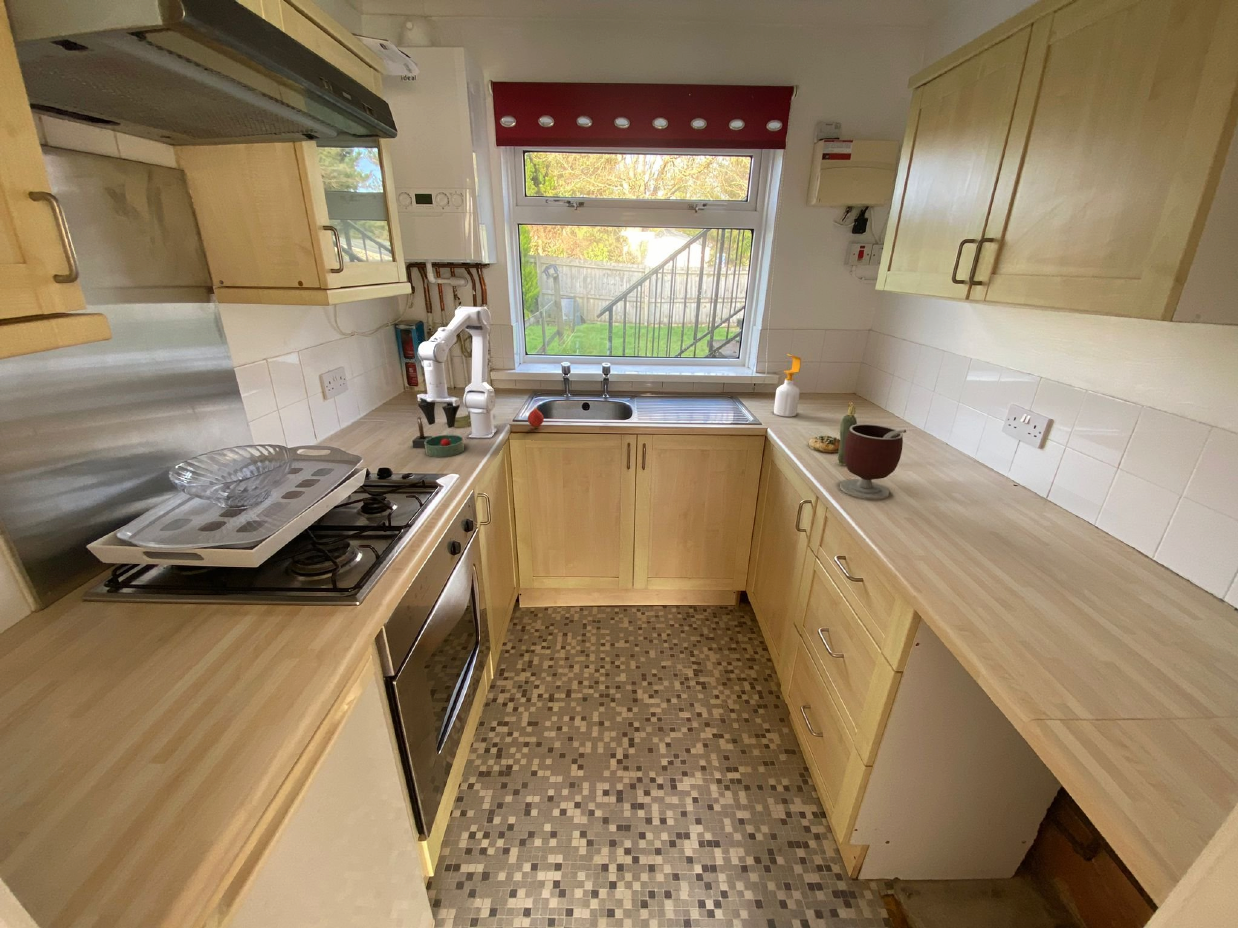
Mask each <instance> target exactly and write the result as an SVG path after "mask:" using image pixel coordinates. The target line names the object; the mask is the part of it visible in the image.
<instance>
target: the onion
mask: <svg viewBox="0 0 1238 928" xmlns="http://www.w3.org/2000/svg"><path fill="white" fill-rule="evenodd" d="M544 419H545V418H544V415H543V413H542V412H541V411H540V410H538V408H537V407H534V408H533V409H532V410H531V411H530V412H529V414H528V416H527V422H528V424H529V425H530V426H531V427H532V428H534V429H539V427H541V426H542V424H543V423H544Z"/></svg>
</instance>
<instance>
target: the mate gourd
mask: <svg viewBox="0 0 1238 928" xmlns="http://www.w3.org/2000/svg"><path fill="white" fill-rule="evenodd" d="M906 433H907V430H906V429H896V428H892V427H890V426H885V425H882V424H881V425H880V424H874V423H873V424H872V423H857V425H853V426H851V427H850V430H849V432H848V434H847V437H846V440H845V444H844V451H843V457H844V463H845V464H844V466H845V467H846V469H847V471H849V473H850V474H853V475H854V476H857V477H858V478H859V479H858V478H857V479H856V478H850V479H844V480H842V481H841V482H840V484H839V488H840V490H841V491H842V492H844V493H845V494H847V495H849V496H852V497H855V498H859V499H862V500H863V499H864V500H873V501H874V500H875V501H877V500H878V501H879V500H884V499H886V498H888V497H889V494H890V490H889V489H888V488H887V487H886V486H884V485H882V484H880V483H878V482H874V481H872V480H881V479H885V478H887V477H888V476H890V475H891V474H892V473H894V472H895V470H896V468H897V467H898V465H899V462H900V459H901V457H902V452H903V445H904V444H903V443H904V442H903V441H904V439H903V437H904V434H906Z"/></svg>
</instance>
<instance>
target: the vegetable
mask: <svg viewBox="0 0 1238 928" xmlns="http://www.w3.org/2000/svg"><path fill="white" fill-rule="evenodd" d="M856 410H857V409H856V407H855V405H854V403H853V402H851V401H849V402H848V410H847V414H846V415H844V416H843V417H842V418H841V421H840V425H839V426H840V427H839V439H840V445H839V452H837V453H838V454H837V460H838V464H839V465H840V466H844V465H845V463H844V457H843V451H844V444H845V440H846V437H847V434H848V432H849V430H850V427H851V426H853V425H857V424H858V421H857V418H856V416H855V414H856Z"/></svg>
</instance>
